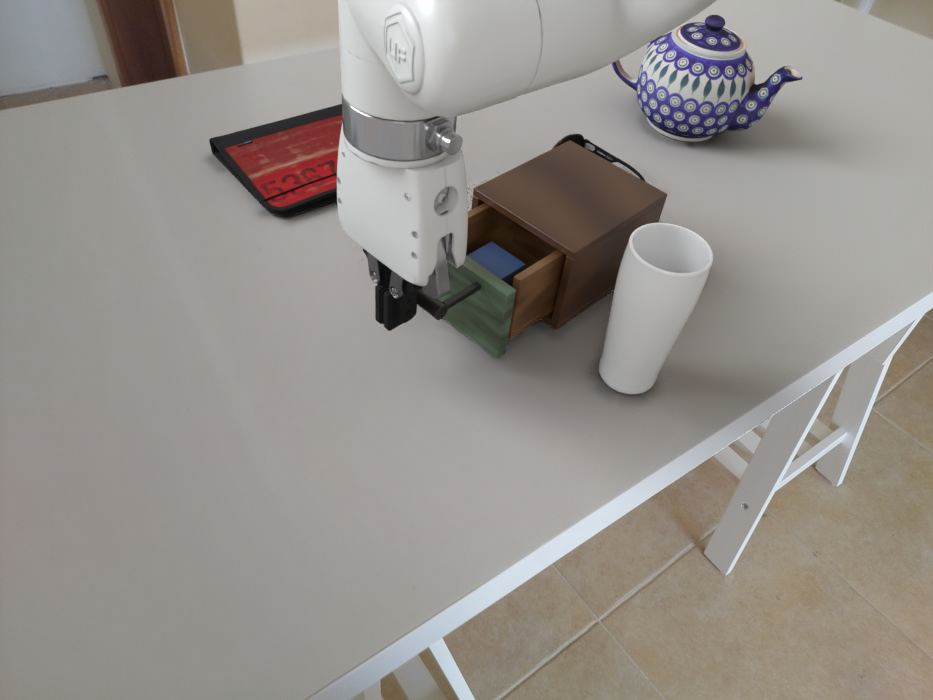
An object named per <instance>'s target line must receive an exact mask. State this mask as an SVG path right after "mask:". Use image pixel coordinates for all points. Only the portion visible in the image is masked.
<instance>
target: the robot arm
mask: <svg viewBox="0 0 933 700" xmlns="http://www.w3.org/2000/svg"><path fill="white" fill-rule="evenodd" d="M717 1H718V0H337V14H338V16H337V17H338V38H339V39H338V40H339V61H340V62H339V63H340V65H339V66H340V87H341V88H340V89H341V104H342V116H343V123H342V128H341V133H340V140H339V149H338V162H337V201H336V203H337V214H338V219H339V224H340V225H339V226H340V227H341V229H342V230H343V232H344V233H345V235H347V236H348V237H349V238H350V239H351V240H352V241H354V242H355V244H357V245H358V246H359V247H361V248H362V251H363V253H364V254H365V256H366V259H367V266H368V274H369V277H370V279H371V281H372V282H373V283H375V284H376V285H375V286H374V303H375V304H374V305H375V306H374V307H375V314H374V315H375V317H374V319H375V321H376V322H378V324H380V325H383V328H385V329H386V330H387V331H388V332H391V331H393V330H395V329H396V328H398V327H399V326H401V325H403V324H407V323H408V322H410V321H411V320H413V318H414V317H416V315H417V312H418V305H417V295H418V290H420V291H422V293H423V294H425V295H428V296H430V297H432V298H434V299H436V300H438V299H439V298H441V297H443V296H445V295H446V294H448V293H450V291H451V288H450V279H449V271H448V263H447V262H449V263H450V264H452V265H453V266H455V267H456V268H458V267H460V266H461V265H463V264H464V261H465V257H466V249H467V233H468V211H469V195H468V192H469V191H468V179H467V172H466V163H465V158H464V152H463V150H462V149H461V148H462V146H463V137H462V136H461V135H460V134H458V133H457V121H458V117H459V116H463V115H467V114H470V113H474V112H477V111H480V110H483V109H486V108H489V107H492V106H495V105H499V104H501V103H502V104H503V103H504V102H505V103H506V102H508V101H512V100H514V99H516V98H518V97H521V96H523V95H527V94H529V93H534V92H537V91H539V90H543V89H545V88H549V87H551V86H555V85H559V84H561V83H566V82H568V81H572V80H574V79H575V80H576V79H578V78H581V77H584V76H587V75H589V74H592V73H594V72H596V71H600V70H602V69H603V68H605V67H607V66H610V65H612V63H613V62H615V61H617V60H619V61H620V60H621V59H623V58H625V57H626V56H628V55H630V54H632V53H634V52H635V51H637V50H639V49H641V48H643V47H644V46H647V44H648V43H649V42H651V41H653V40H655V39H657V38H658V37H660V36H663V35H665V34H667V33H670V32H672V31H673V29H674V28H676V27H678V26H679V25H681V24H684V23H687V21H688V22H689V20H691V19H692V18H694V17H696V16H697V15H699V14H700V13H702V12H703V11H705V10H706V9H707V8H709V7H710V6H712V5H713V4H715V3H716V2H717Z"/></svg>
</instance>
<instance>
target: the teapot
mask: <svg viewBox="0 0 933 700" xmlns="http://www.w3.org/2000/svg"><path fill="white" fill-rule="evenodd" d="M725 26H726V20H725V18H724V17H723V16H721V15H720V14H710V15H708V16H706V17H705V19H704V22H699V21H695V22H693V21H692V22H685V23H683V24H681V25H679V26H678V27H676V28H674V29H673V30H671V31H669V32H667V33H666V34H664V35H662V36H660V37H658V38H657V39H655V40H653V41H651V42H649V43H648V44H646V52H645V54H644V56H643V59H642V61H641V64H640V68H639V70H638V74H637V75H638V76H637V77H633V76H631V75H630V74H629V73H628V72H626V71H625V69H624V68H623V66H622V63H621V60H620V59H619V60H617V61H615V62H613V63H611V67H612V68H613V71H614V73H615V74H616V75H617V77H618V78H619V79H620V80H621V81H622V82H623V83H625V84H626V85H627V86H628V87H630V88H631V89H633V90H634V91H635V92H636V98H637V103H638V106H639V107H640V110H641V111H642V114H643V115H644V116H645V117H646V120H647V122H648V124H649V125H650V127H651V128H652V129H653V130H654V131H656V132H657V133H659V134H661V135H662V136H665V137H667V138H669V139H673V140H677V141H681V142H693V143H694V142H704V141H706V140H709V139H711V138H712V137H713V136H716V135H719V134H722V133H724V132H726V131H729V132H731V131H732V132H741V131H745V130H749V129H750V128H751V127H753V126H754V125H756V124H757V123H758V122H759V121H760V120H761V119H762V118H763V117H764V115H765V114H766V112H767V110H768V109H769V107H770V106H771V104H772V103H773V101H774V99H775V98H776V96H777V95H778V93H779V91H780V90H781V89H782V88H783V87H784V86H785V85H786V84H788V83H792V82H796V81H797V82H798V81H802V80H803V75H802V73H801V72H800V71H798V70H797V69H796V68H794V67H793V66H790V65H784V66H781V67H779V68H778V69H777V70H775V71H774V72H773V73H771V75H769V77H768V78H767V79H765V81H763V82H761V83H757V84H756V70H755V69H756V68H755V65H754V61H753V59H752V57H751V55H750V54H749V53H748V52H747V46H748V45H747V42H746V40H745V39H744V38H743V37H742V36H741V35H740V34H738V33H737V32H736V31H734V30H731V29H729V28H728V27H725Z"/></svg>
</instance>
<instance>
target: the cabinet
mask: <svg viewBox="0 0 933 700" xmlns="http://www.w3.org/2000/svg"><path fill="white" fill-rule="evenodd" d="M552 148H553V147H552ZM552 148H551V149H549V150H547V151H545V152H543V153H542V154H540V155H538V156H535V157H533V158H531V159H529V160H528V161H526V162H523V163H521V164H519V165H517V166H516V167H514V168H511V169H509V170H507V171H506V172H503V173H501V174H499V175H497V176H495V177H494V178H491V179H489V180H487V181H485V182H483V183H481V184H479V185H477V186H475V187H473V191H472V197H471V207H470V208H471V209H470V210H472V209H474V208H476V207H478V206H480V205H482V204H483V203H486V204H488V205H489V206H491V207H492V208H494V209H495V210H497V211H499V212H500V213H502V214H503V215H505V216H506V217H508V218H509V219H511V220H512V221H514V222H516V223H517V224H519V225H520V226H522V227H523V228H525V229H526V230H528V231H530V232H531V233H533V234H534V235H536V236H537V237H539V238H540V239H542V240H543V241H545V242H547V243H548V244H550V245H551V246H553V247H554V248H556V249H557V250H559V251H560V252H562V253H564V254H565V255H567V256H566V259H565V264H564V268H563V272H562V277H561V281H560V285H559V290H558V294H557V299H556V303H555V307H554V310H553V311H552V312H550V313H549V314H548V315H546V316H545V317H543V318H542V319H540V320H541V321H542V322H544V323H545V324H546V325H548V326H549V327H551V328H552V329H554V331H558V330H559V329H560V328H562V327H563V326H564V325H566V324H567V323H569V322H571V321H572V320H573V319H575V318H576V317H578V316H579V315H580V314H581V313H583V312H584V311H586V310H587V309H589V307H591V306H593V305H594V304H596V303H597V302H599V301H600V300H601V299H603V298H604V297H606V296H607V295H608V294H610V293H611V292H614V289H615V284H616V279H617V275H618V271H619V268H620V264H621V261H622V258H623V255H624V252H625V249H626V246H627V244H628V241H629V238H630V236H631V234H632V233H633V232H634V231H635V230H636V229H637V228H639V227H641V226H643V225H646V224H650V223H660V219H661V217H662V213H663V210H664V208H665V207H664V206H665V204H666V201H667V197H668V193H666V192H665V191H663V190H661V189H659V188H657V187H655V185H652V184H650V183H648V182H647V181H646V180H645V181H643V180H641V179H640V178H639V177H638V176H637V175H634V174H632V173H630V172H629V171H627V170H625V169H623V168H621V167H619V166H617V165H616V164H614V163H610V162H609V161H607V160H605V159H603V158H601V157H599V156H598V155H596V154H594V153H592V152H590V151H589V150H587V149H585V148H583V147H581V146H580V145H578V144H576V143H574V142H572V141H570V140H569V141H567V142H565V143H563V144H561V145H559V146H557V147H555V148H553V149H552Z"/></svg>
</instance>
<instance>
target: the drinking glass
mask: <svg viewBox="0 0 933 700" xmlns="http://www.w3.org/2000/svg"><path fill="white" fill-rule="evenodd" d="M713 263H714V253H713V249H712V248H711V246H710V244H709V243H708V241H706V239H704V238H703V237H702V236H701V235H699V234H698V232H695V231H694V230H692V229H689V228H687V227H684V226H682V225H678V224H674V223H668V222H658V223H650V224H646V225H643V226H641V227H639V228H637V229H636V230H635V231H634V232H633V233H632V234H631V236H630V238H629V241H628V244H627V246H626V249H625V252H624V255H623V258H622V261H621V264H620V268H619V271H618V275H617V279H616V284H615V289H614V290H613V296H612V299H611V300H612V301H611V305H610V311H609V317H608V321H607V327H606V331H605V337H604V342H603V348H602V352H601V355H600V357H599V362H598V372H599V375H600V378H601V379H602V381H603V382H604V383H605V385H606V386H608V387H609V388H610V389H612V390H613V391H616V392H617V393H620V394H624V395H640V394H643V393H646V392H647V391H649V390H651V389H652V388H653V386H654V385H655V383H656V382H657V379H658V377H659V374H660V372H661V370H662V368H663V366H664V364H665V362H666V360H667V358H668V356H669V355H670V353H671V351H672V349H673V347H674V346H675V343H676V342H677V340H678V338H679V336H680V334H681V333H682V331H683V329H684V327H685V326H686V324H687V322H688V320H689V318H690V317H691V315H692V313H693V311H694V309H695V307H696V305H697V304H698V301H699V299H700V297H701V295H702V292H703V290H704V287H705V285H706V283H707V280H708V278H709V274H710V271H711V268H712V265H713Z"/></svg>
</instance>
